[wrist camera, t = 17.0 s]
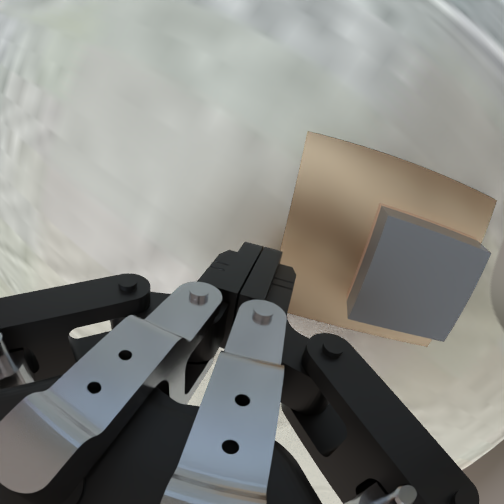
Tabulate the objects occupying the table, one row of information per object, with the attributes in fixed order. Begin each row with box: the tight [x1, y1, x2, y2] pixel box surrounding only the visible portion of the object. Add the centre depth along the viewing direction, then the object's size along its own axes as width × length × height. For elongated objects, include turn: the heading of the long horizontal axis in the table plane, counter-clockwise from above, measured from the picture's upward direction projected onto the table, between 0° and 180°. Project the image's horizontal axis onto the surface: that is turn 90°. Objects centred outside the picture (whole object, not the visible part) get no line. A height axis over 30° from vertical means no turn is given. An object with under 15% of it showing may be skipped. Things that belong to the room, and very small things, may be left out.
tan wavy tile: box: [280, 131, 497, 347], centre depth 16 cm, size 11×12×1 cm
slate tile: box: [346, 203, 491, 342], centre depth 14 cm, size 6×2×7 cm
